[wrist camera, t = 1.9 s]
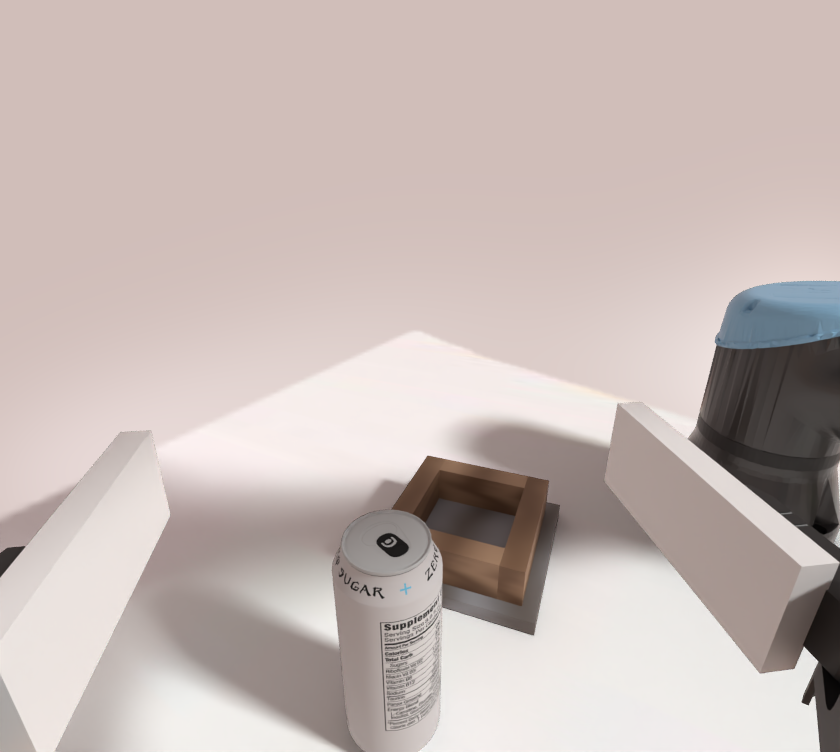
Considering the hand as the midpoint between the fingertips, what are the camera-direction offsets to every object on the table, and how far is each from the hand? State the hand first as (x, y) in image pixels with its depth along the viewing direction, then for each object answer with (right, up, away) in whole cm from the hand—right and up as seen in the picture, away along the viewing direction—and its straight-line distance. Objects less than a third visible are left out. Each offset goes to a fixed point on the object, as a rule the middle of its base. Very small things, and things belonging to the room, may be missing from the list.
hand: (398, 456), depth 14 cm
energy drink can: (-1, -20, +19) cm, 27 cm away
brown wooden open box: (+5, -14, +33) cm, 36 cm away
